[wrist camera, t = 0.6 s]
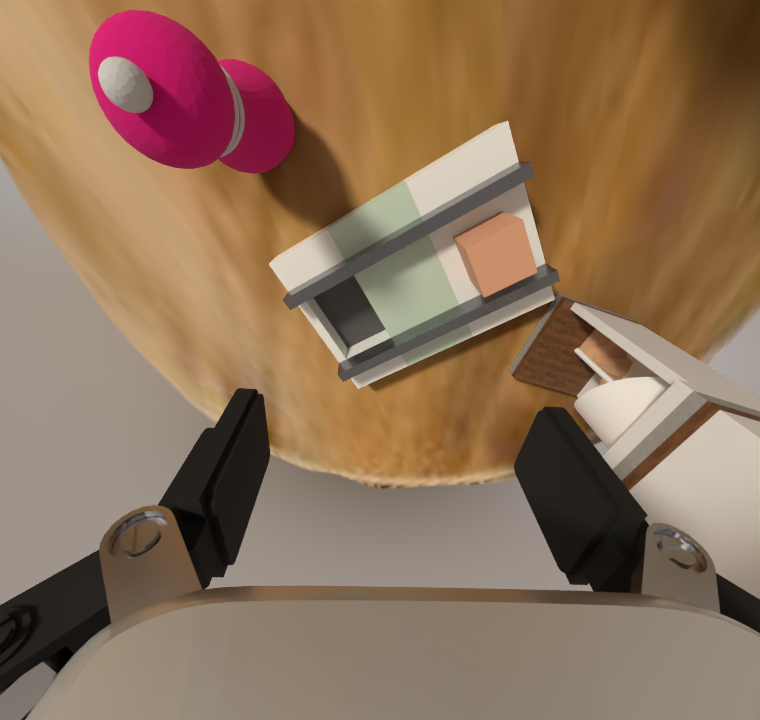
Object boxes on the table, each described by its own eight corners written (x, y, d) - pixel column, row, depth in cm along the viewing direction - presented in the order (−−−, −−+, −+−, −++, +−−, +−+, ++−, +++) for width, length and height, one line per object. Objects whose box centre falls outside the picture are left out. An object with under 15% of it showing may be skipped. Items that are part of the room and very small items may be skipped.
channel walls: (518, 161, 29) (530, 161, 27) (548, 273, 34) (559, 280, 32) (288, 291, 35) (282, 300, 33) (344, 369, 40) (343, 381, 38)
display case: (557, 292, 39) (1181, 741, 9) (629, 318, 41) (1338, 754, 11) (508, 369, 44) (790, 802, 15) (574, 388, 46) (941, 803, 16)
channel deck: (496, 124, 30) (507, 120, 27) (542, 290, 38) (554, 299, 36) (276, 256, 36) (268, 264, 33) (358, 375, 44) (358, 388, 42)
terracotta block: (501, 210, 31) (522, 219, 27) (516, 257, 33) (537, 272, 29) (452, 237, 32) (465, 248, 28) (470, 280, 35) (484, 297, 30)
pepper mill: (294, 182, 32) (208, 208, 15) (218, 157, 31) (29, 156, 14) (307, 91, 28) (212, -10, 11) (220, 59, 27) (-30, -105, 10)
